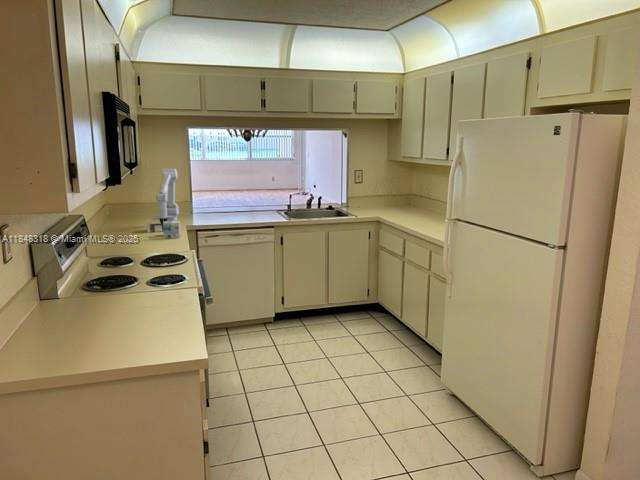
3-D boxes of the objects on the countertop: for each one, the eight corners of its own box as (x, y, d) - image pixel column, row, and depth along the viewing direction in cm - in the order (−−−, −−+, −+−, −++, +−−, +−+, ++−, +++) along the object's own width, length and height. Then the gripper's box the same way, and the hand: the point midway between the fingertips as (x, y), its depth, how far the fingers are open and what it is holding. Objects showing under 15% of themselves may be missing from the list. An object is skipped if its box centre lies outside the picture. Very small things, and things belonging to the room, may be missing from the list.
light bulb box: (163, 238, 322) (162, 223, 320) (164, 236, 328) (163, 221, 326) (180, 238, 324) (179, 222, 322) (180, 236, 331) (179, 220, 328)
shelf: (147, 231, 344) (147, 224, 343) (173, 230, 350) (172, 222, 349) (147, 234, 333) (146, 227, 332) (173, 233, 339) (173, 225, 337)
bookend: (147, 230, 342) (146, 219, 340) (150, 229, 343) (149, 218, 341) (147, 232, 333) (146, 221, 331) (150, 232, 334) (149, 221, 332)
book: (154, 229, 343) (154, 225, 342) (162, 229, 344) (161, 225, 344) (154, 232, 335) (154, 227, 335) (162, 231, 337) (162, 227, 336)
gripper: (151, 211, 332) (153, 230, 335) (173, 210, 336) (174, 229, 339) (151, 210, 338) (153, 228, 341) (173, 209, 343) (174, 227, 346)
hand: (163, 229), depth 341 cm, fingers closed
